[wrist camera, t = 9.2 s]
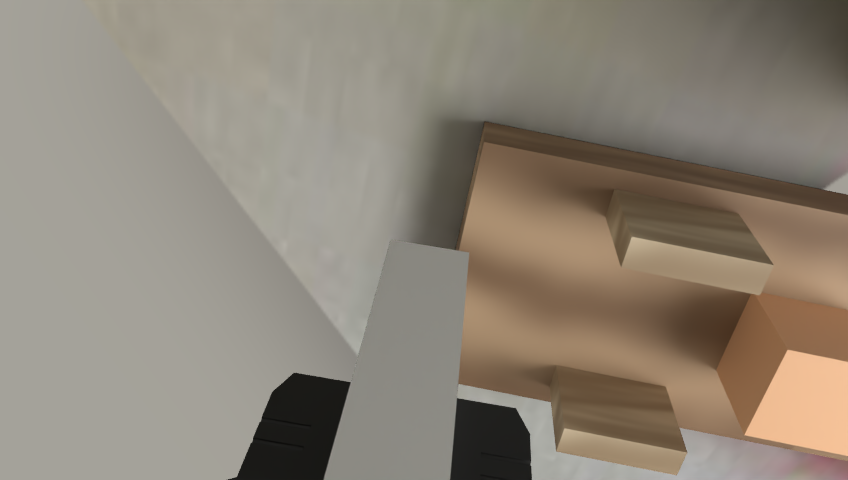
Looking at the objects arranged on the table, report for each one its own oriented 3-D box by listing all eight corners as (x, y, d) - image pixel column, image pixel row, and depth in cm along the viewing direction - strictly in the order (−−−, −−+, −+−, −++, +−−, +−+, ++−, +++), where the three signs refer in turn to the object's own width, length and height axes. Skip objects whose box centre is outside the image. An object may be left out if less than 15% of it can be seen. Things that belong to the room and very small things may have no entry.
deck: (484, 121, 37) (482, 183, 30) (1029, 231, 38) (1153, 318, 31) (433, 346, 44) (421, 440, 37) (898, 438, 44) (975, 550, 37)
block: (752, 290, 37) (787, 349, 33) (850, 310, 37) (898, 372, 33) (715, 370, 39) (744, 435, 35) (808, 388, 39) (848, 456, 35)
